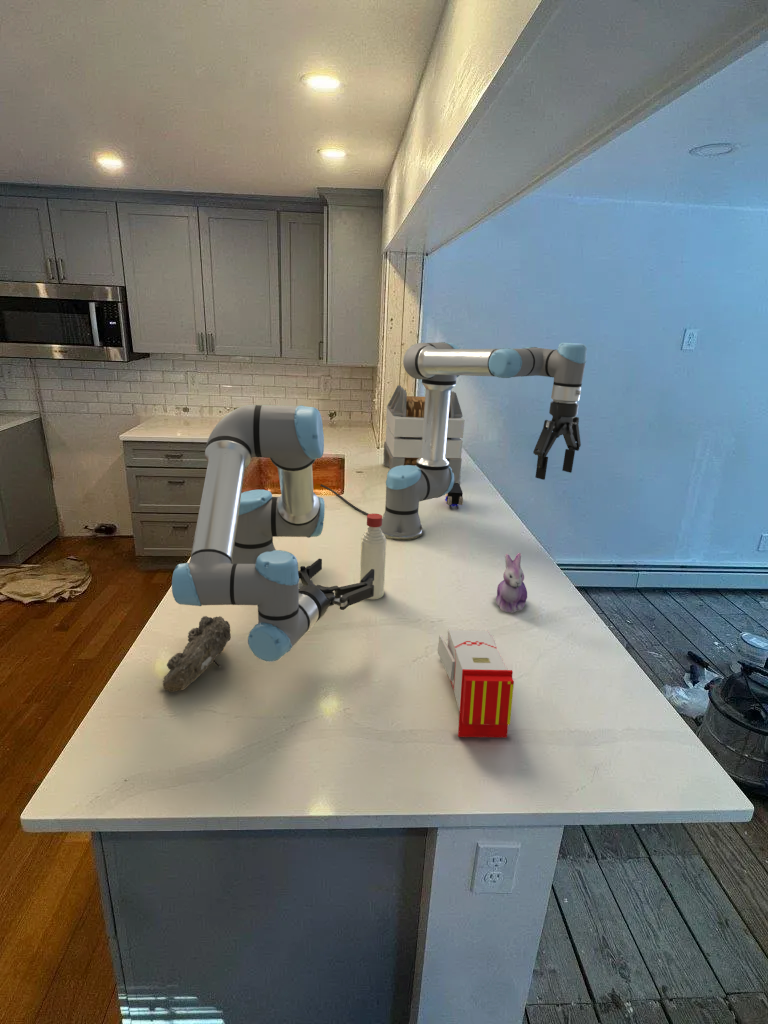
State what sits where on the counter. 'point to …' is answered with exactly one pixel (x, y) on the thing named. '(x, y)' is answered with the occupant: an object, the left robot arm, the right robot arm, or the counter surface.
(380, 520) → the cap
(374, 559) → the bottle
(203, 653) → the fossil
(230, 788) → the counter surface
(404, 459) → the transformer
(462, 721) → the toy
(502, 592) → the figurine
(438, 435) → the right robot arm
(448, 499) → the figurine character
